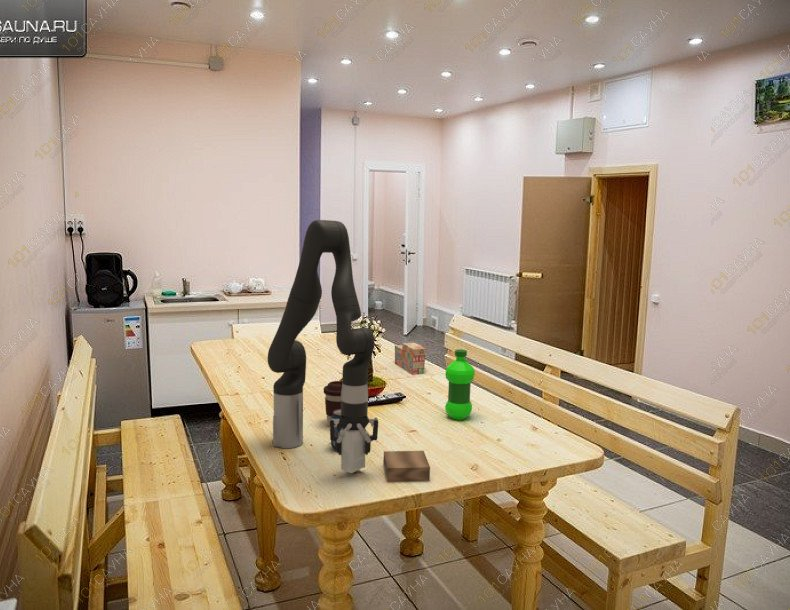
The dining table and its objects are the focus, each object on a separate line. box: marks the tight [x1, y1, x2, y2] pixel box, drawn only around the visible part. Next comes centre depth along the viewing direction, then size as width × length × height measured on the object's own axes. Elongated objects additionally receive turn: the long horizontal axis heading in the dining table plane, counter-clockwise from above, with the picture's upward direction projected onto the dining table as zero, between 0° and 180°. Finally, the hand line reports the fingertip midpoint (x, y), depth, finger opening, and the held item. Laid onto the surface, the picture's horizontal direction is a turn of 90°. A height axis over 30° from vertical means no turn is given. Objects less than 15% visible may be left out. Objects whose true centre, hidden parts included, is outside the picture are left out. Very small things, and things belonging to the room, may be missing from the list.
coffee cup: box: [323, 380, 342, 428], centre depth 219 cm, size 10×10×15 cm
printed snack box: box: [394, 342, 426, 376], centre depth 296 cm, size 21×6×12 cm, turn 23°
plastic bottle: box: [444, 349, 476, 421], centre depth 229 cm, size 10×10×25 cm
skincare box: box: [340, 427, 367, 474], centre depth 180 cm, size 6×4×12 cm
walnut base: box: [382, 450, 431, 483], centre depth 183 cm, size 12×12×4 cm
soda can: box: [330, 409, 342, 452], centre depth 199 cm, size 7×7×12 cm
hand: (353, 453), depth 180 cm, fingers closed on skincare box, 7 cm apart
